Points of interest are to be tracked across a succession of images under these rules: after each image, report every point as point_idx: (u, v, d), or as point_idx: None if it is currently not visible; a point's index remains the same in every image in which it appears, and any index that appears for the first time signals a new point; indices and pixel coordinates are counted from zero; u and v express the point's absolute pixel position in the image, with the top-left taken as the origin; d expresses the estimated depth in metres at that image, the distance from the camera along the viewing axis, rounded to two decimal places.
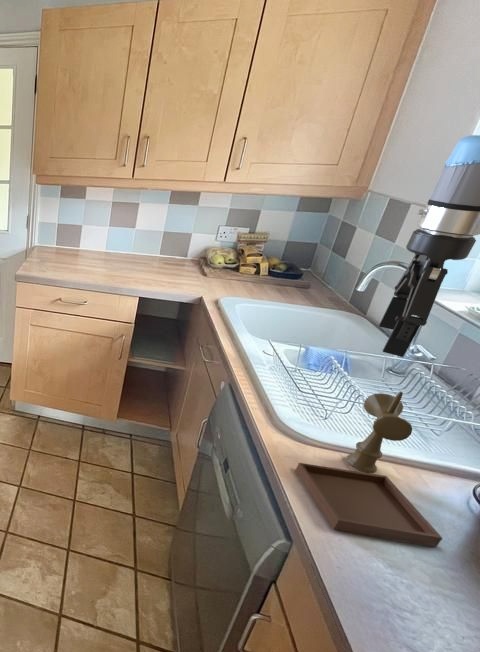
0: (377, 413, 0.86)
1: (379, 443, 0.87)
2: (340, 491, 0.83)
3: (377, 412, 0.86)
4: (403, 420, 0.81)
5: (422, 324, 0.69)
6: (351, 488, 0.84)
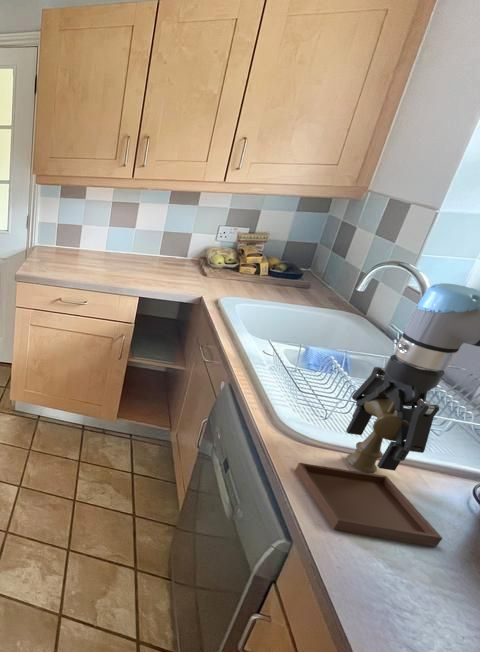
0: (377, 413, 0.86)
1: (379, 443, 0.87)
2: (340, 491, 0.83)
3: (377, 413, 0.86)
4: (403, 420, 0.81)
5: (420, 452, 0.78)
6: (351, 488, 0.84)
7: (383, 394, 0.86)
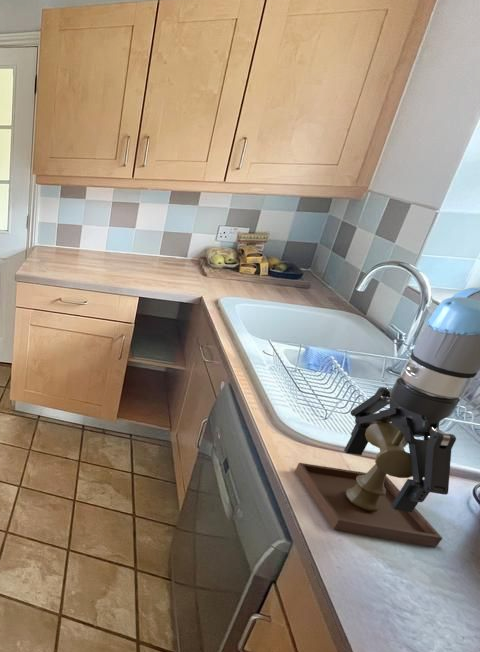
0: (380, 445, 0.76)
1: (382, 478, 0.77)
2: (340, 491, 0.83)
3: (380, 444, 0.76)
4: None
5: (444, 494, 0.66)
6: None
7: (387, 418, 0.76)
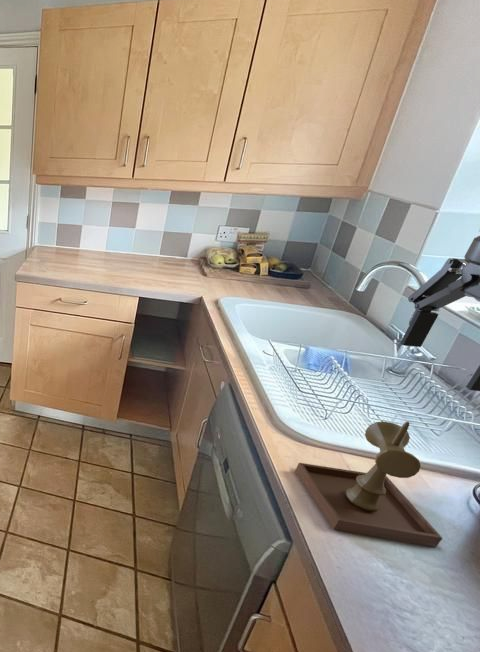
0: (380, 445, 0.76)
1: (382, 478, 0.77)
2: (340, 491, 0.83)
3: (380, 444, 0.76)
4: (410, 455, 0.71)
5: None
6: None
7: (458, 291, 0.66)
